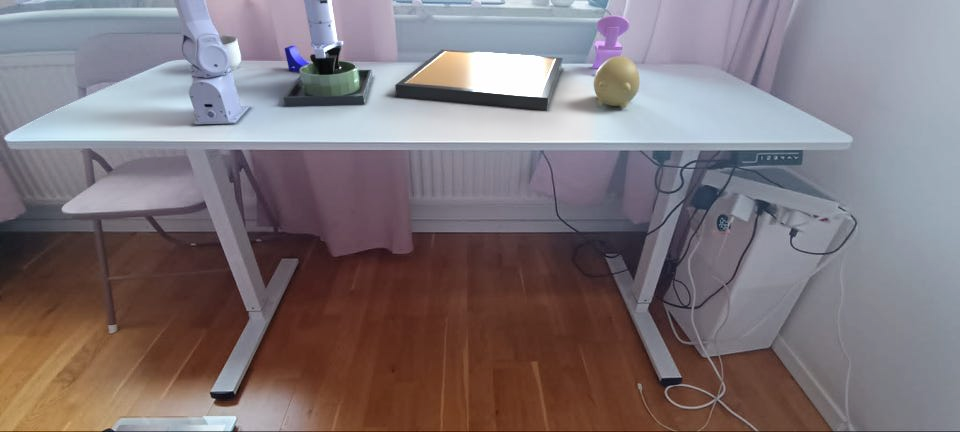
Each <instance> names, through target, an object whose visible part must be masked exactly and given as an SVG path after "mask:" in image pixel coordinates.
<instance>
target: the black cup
mask: <svg viewBox="0 0 960 432" xmlns="http://www.w3.org/2000/svg"><path fill="white" fill-rule="evenodd" d="M317 72H318V70H317ZM340 73H342V69H341V66H340V65H337V64H335V65H334V74H340ZM318 75H320V74H319V72H318Z"/></svg>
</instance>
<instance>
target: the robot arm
mask: <svg viewBox="0 0 960 432" xmlns="http://www.w3.org/2000/svg"><path fill="white" fill-rule="evenodd" d="M173 2H174V4H175V7H176V11H177V14H178V17H179V20H180V26H179V32H180V34H181V43H180V49H181V50H180V51H181V54H182V56H183V58H184V59H185V61H187V62H188V63H189V64H191V65H190V70H189V73H190V75H191V80H192V82H191V86H189V89H188V95H189V99H190V101H191V104H192V108H193V111H194V113H195V117H196V119H195V120H194V121H193V125H219V124H220V125H222V124H223V125H225V124H236V123H237V122H238V121H239V120H240V119H241V117H242V116H243V115H244V114H245V113H246V112H247V111H248V110H249V108H250V106H249V105H241V101H240V96H239V94H238V89H237V86H236V83H235V79H234V76H233V71H231V68H230V67H229V66H230V63H231V57H230V54H229V52H228V50H227V49H226V48H225V46H224V45H223V44H222V42H221V40H220V37H219V35H220V34H219V32H218V31H217V28H216V27H215V25H214V23H213V21H212V19H211V16H210V12H209V9H208V6H207V5H208V4H207V2H206V0H173ZM303 2H304V3H303V4H304V8H305V12H306V20H307V25H308V31H309V34H310V36H309V37H310V46H311V48H312V49H313V50H314V53H312V54H310V56H309V58H310V61H311V63H314V65H315V66H316V68H317V70H318V72H319V74H320V75H332V74H334V65H335V64H337V65H339V61H340V55H341V52H342V49H343V47H342V46H343V45H344V40H342V39H341V40H338V36H337V30H336V21H335V15H334V10H333V3H332V0H303Z"/></svg>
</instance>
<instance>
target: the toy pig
mask: <svg viewBox="0 0 960 432" xmlns="http://www.w3.org/2000/svg"><path fill="white" fill-rule="evenodd" d="M597 69H598V68H597ZM596 71H597V70H596ZM595 73H596V72H595ZM640 82H641V81H640V73H639V70H638V68H637V66H636V64H635V63H634V61H632V60H631V59H630V58H629V57H627V56H622V55H620V56H617V57H613V58H611V59H609V60H607V61H606V62H605V63H603V64H602V66H601V67H600V68H599V69H598V71H597V73H596V75H595V74H594V78H593V90H594V94H595V95H596V97H597V104H598V105H603V104H605V105H606V106H611V107H619V106H620V108H622V109H625V108H626V107H628V103H630V102H631V101H632V100H633V99H634V98H635V96H636V95H637V93H638V92H639V90H640Z"/></svg>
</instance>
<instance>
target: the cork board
mask: <svg viewBox="0 0 960 432" xmlns="http://www.w3.org/2000/svg"><path fill="white" fill-rule="evenodd" d="M562 68H563V57H553V56H538V55H525V54H523V55H522V54H510V53H509V54H508V53H497V52H496V53H495V52H482V51H481V52H480V51H466V50H453V49H440V50H439V51H438V52H437V53H436V54H434V55H433V56H431V57H430V58H429V59H427V60H426V61H425V62H423V63H422V64H421V65H420V66H418V67H417V68H415V69H414V70H413V71H411V72H410V73H409V74H408V75H406V76H405V77H403V78H402V79H401V80H400V81H398V82H397V83H396V84H395V85H394V86H395V95H396V96H395V97H397V98H407V99H417V100H427V101H440V102H451V103H458V104H459V103H461V104H472V105H482V106H493V107H504V108H515V109H525V110H537V111H546V112H547V111H548V108H549V106H550V102H551V99H552V97H553V95H554V91H555V88H556V86H557V83H558V80H559V77H560V74H561V71H562Z"/></svg>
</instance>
